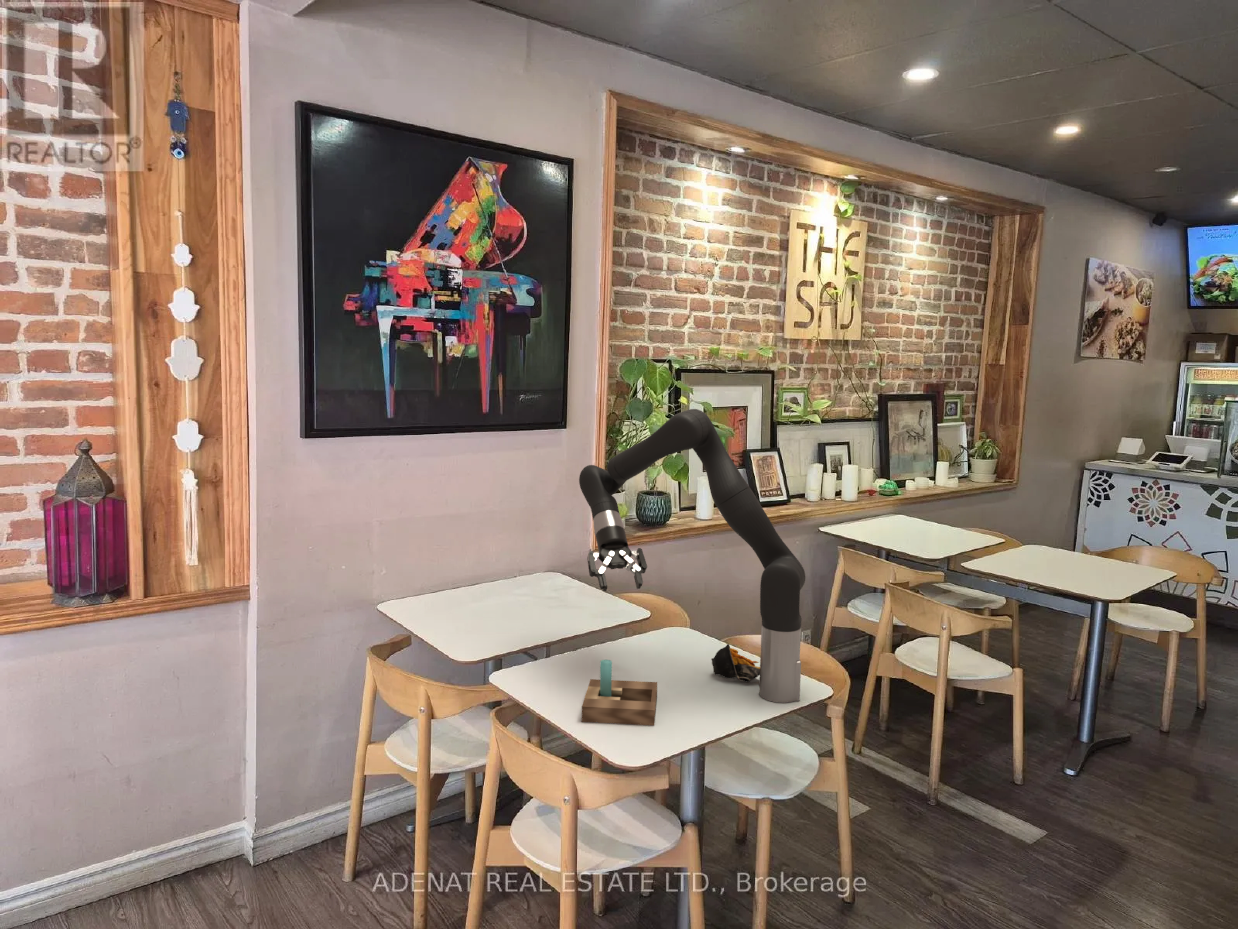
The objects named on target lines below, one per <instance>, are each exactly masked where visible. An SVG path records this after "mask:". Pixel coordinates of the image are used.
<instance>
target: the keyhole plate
mask: <svg viewBox="0 0 1238 929" xmlns="http://www.w3.org/2000/svg"><path fill="white" fill-rule="evenodd" d="M657 699H658V681H642V680H641V681H640V680H637V681H635V680H621V679H620V680H616V679H612V685H611V697H604V696H600V678H599V679H597V678H595V679H594V678H593V679H592V678H590V680H589V683H588V686H587V690H586V692H585V695H584V699H583V700H582V701H583V702H582V705H581V722H582V723H596V722H598V724H599V723H600V724H615V723H616V724H617V725H619V724H620V725H636V726H638V725H640V726H655V720H656V710H657Z"/></svg>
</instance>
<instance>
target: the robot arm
mask: <svg viewBox="0 0 1238 929" xmlns="http://www.w3.org/2000/svg"><path fill="white" fill-rule="evenodd" d="M688 450H693V452H694V453H695V454H696V455H697V457H698V459H699V461H701V463H702V465H703V467H704V469H705V473H706V476H707V481H708V486H709V490H710V495H711V498H712V500H713V503H714V505H715V506H716V508H717V509H718V511H719V513H720V515H721V516H722V518H723V519H724V520H725V522H726V523H727V524H728V525H729V527H730V528H731V529H732V530H733V532H735V533H736V534H737V535H738V536H739V537H740V538H741V539H743V541H744V542H746V543H747V544H748V545H749V547H751V549H752V551H753V552H754V553H755V555H756V557H758V558H757V559H759V561H760V563H761V565H762V567H763V569H764V570H763V572H762V574H761V577H760V586H759V587H760V588H759V590H760V591H759V592H760V593H759V594H760V595H759V614H760V617H761V629H760V630H761V631H760V632H761V634H760V635H761V636H760V655H759V656H760V657H759V658H760V661H759V663H760V664H759V667H760V675H759V682H758V683H759V684H758V687H759V690H758V694H759V697H761V698H762V699H765V700H766V701H770V702H774V703H783V704H784V703H785V704H786V703H792V702H799V701H800V698H801V697H800V696H801V695H800V693H801V675H802V674H801V673H802V671H801V670H802V661H801V659H800V658H801V640H802V639H801V637H802V616H801V613H800V605H801V604H800V601H801V600H800V595H801V590H802V589H803V587H804V585H805V583H806V572H805V569H804V567H803V565H802V564H801V562H800V561H799V559H798V558H797V557H796V556H795V554H794V553H793V552H792V551H791V549H790V548H789V547H788V545H787V544H786V543H785V542H784V541H783V539H782V538H781V536H780V535H779V534H778V531H776V529H775V527H774V525H773V523H772V521H771V520H770V518H769V517H768V515H767V513H766V512H765V509H764V508H763V506H762V505H761V503H760V502H759V500H758V498H757V496H756V495H755V493H754V492H753V490H752V489H751V487H750V485H749V484H748V483H747V481H746V480H745V478H744V477H743V475H742V473H741V471H739V468H737V466H736V464H735V462H734V460H733V459H732V458H731V456H730V455H729V453H728V451H727V450H726V447H725V446H724V443H723V441H722V439H721V438H720V435H719V433H718V431H717V430H716V428H715V426H714V424H713V422H712V420H711V418H710V417H709V416H708V414H706V413H705V412H704V411H703V410H700V409H698V408H697V409H696V408H690V409H687V410H684V411H680V412H678V413H676V414H674V415H673V416H672V417H670V418H669V419H668V420H667V421H666V422H665V423H664V424H662V426H660V427H659V428H657V430H655V432H653V433H652V434H651V435H649V436H648V437H646V438H645V439H643V440H641V441H640V442H638V443H636V444H634V445H632V446H630V447H629V448H626V449H625V450H623V451H621V452H620V453H618V454H617V455H615V456H613V457H611V458H610V459H609V460H608V462H607V465H606V466H607V467H606V468H607V469H604V468H601V467H600V466H597V465H594V464H589V465H585V466H584V467H583V468H582V469H581V471H580V474H579V478H578V482H579V483H578V484H579V487H580V490H581V492H582V495H583V496H584V499H585V500H586V502H587V504H588V506H589V507H590V511H591V516H592V521H593V532H594V536H595V539H596V545H597V550H598V552H594V551H592V550H589V551H588V555H587V566H588V573H589V577H590V578H594V577H596V578H597V582H598V586H599V588H600V589H601V590H602V592H607V589H608V581H607V578H606V574H605V573H606V572H607V570H608V569H610V570H616V569H620V570H621V569H625V570H627V571H628V572H630V573H631V574H633V578H634V583H635V587H636V589H637V590H640V589H641V587H643V584H644V581H643V575H642V574H645V573H646V570H647V568H648V565H647V561H646V559H645V554H644V552H643V549H642V548H641V547H638V548H637V549H636V550H631V549H630V547H629V544H628V539H627V534H626V530H625V526H624V522H623V520H622V517H621V514H620V510H619V506H618V502H617V500H616V498H615V497H614V496H613V495H614V494H616V493H617V492H618V491H619V490H620V488H621V487H622V486H623V485H624V484H625V483H626V482H627V481H628V480H630V479H632V478H634V477H636V476H637V475H639V474H641V473H642V472H644V471H646V470H647V469H649V468H650V467H651V466H653V464H656V463H657V462H658V461H659V460H661V459H663V458H666V457H668V456H670V455H673V454H676V453H680V452H682V451H688ZM632 557H633V558H634V559H632ZM597 559H598V560H599V561H600V562H601V563H602V564H601V566H600V567H599V569H597V568H596V562H597ZM635 560H636V561H637V563H636V562H635Z"/></svg>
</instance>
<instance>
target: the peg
mask: <svg viewBox="0 0 1238 929" xmlns="http://www.w3.org/2000/svg"><path fill="white" fill-rule="evenodd" d="M599 663H600V666H599V667H600V670H599V671H600V672H599V673H600V674H599V675H600V676H599V680H600V696H604V697H611V685H612V680H613V679H612V678H613V676H612V671H613V670H612V668H613V666H612V665H613V661H612V660H610V659H602V660H600V662H599Z"/></svg>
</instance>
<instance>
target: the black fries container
mask: <svg viewBox="0 0 1238 929" xmlns="http://www.w3.org/2000/svg"><path fill="white" fill-rule="evenodd" d="M710 661H711V665H712V670H713V674H714V675H715V676H716V675H719V676H722V677H724V678H726V679H727V678H729V679H732V678H733V679H734V678H735V679H737V680H738V681H742V682H746V681H747V682H750V681H751V680H753V679H756V678H757V677H760V666H757V665H755V664H758V663H760V661H757V660H752V659H750V658H748V657H745V656H743V655H741V654H739V650H737V649H736V648H731V646H730V644H729V643H726V645H725V647H724V646H723V647H722V648H720V649H719V650H717V652H716V653H715V655H714V656H713V658H711V659H710Z"/></svg>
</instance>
